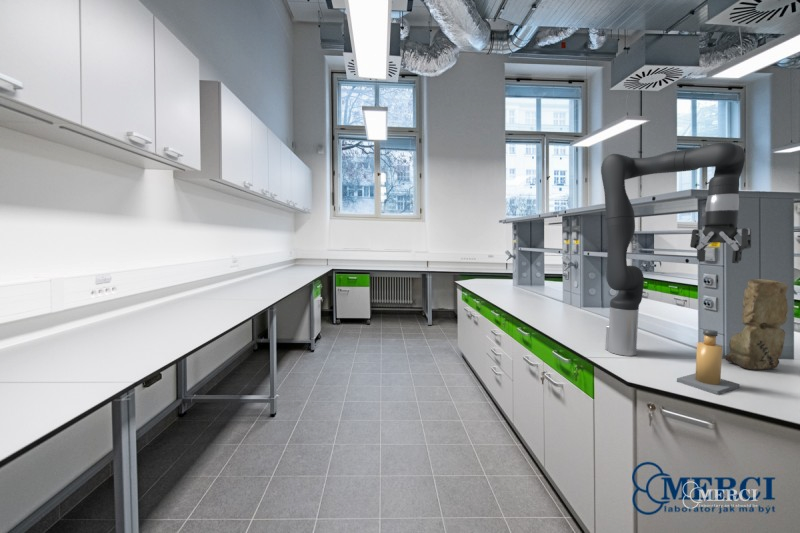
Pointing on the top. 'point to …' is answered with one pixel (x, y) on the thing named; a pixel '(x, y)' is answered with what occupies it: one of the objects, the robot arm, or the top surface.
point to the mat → (715, 389)
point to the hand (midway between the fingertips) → (717, 262)
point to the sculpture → (760, 326)
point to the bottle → (709, 359)
